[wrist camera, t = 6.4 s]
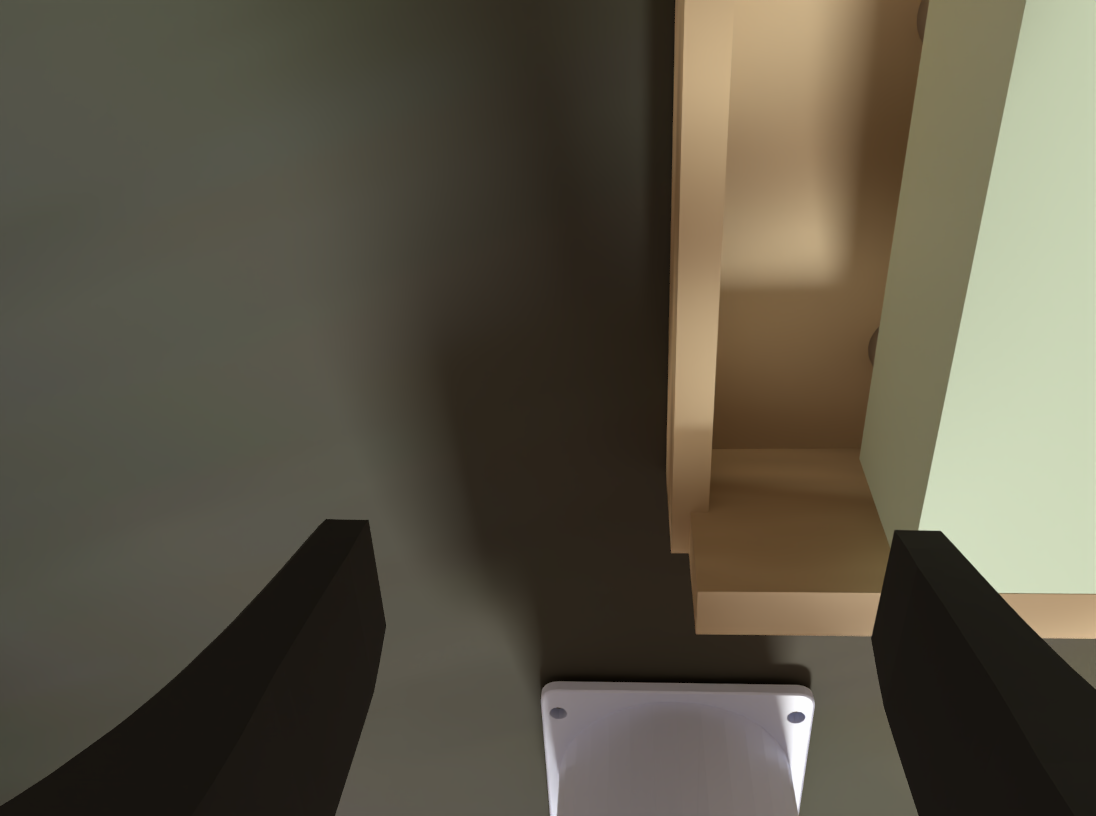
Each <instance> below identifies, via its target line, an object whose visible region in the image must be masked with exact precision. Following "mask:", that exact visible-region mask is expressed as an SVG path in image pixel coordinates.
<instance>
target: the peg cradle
mask: <svg viewBox="0 0 1096 816" xmlns="http://www.w3.org/2000/svg"><path fill="white" fill-rule="evenodd" d="M928 6H929V0H675V48H674V99H673V150H672V201H671V252H670V304H669V355H668V406H667V457H666V479H667V495H668V511H669V526H670V542H671V553H689V561H690V573H691V584H692V596H693V608H694V619H695V631H696V634H719V635H811V636H872V632H873V628H874V623H875V618H876V614H877V609H878V604H879V600H880V595H881V590H882V586H883V581H884V576H885V572H886V567H887V562H888V558H889V553H890V546H889V543H888V540H887V537H886V534H885V531H884V529H883V526H882V523H881V520H880V517H879V514H878V511H877V508H876V505H875V503H874V500H873V497H872V494H871V491H870V488H869V485H868V482H867V479H866V477H865V474H864V471H863V468H862V465H861V462H860V459H859V457H860V450H861V444H862V437H863V431H864V424H865V418H866V411H867V405H868V398H869V392H870V385H871V379H872V372H873V365H874V359H875V352H876V346H877V339H878V333H879V326H880V320H881V313H882V307H883V300H884V294H885V287H886V281H887V274H888V267H889V261H890V254H891V248H892V241H893V235H894V228H895V222H896V215H897V209H898V202H899V196H900V189H901V183H902V176H903V170H904V163H905V156H906V150H907V143H908V137H909V130H910V124H911V117H912V111H913V104H914V98H915V91H916V85H917V78H918V72H919V65H920V58H921V52H922V45H923V39H924V32H925V26H926V19H927V13H928ZM999 594H1000V595H1001V596H1002V598H1003V599H1004V600H1005V601H1006V602H1007V603H1008V604H1009V605H1010V606H1011V607H1012V608H1013V609H1014V610H1015V611H1016V612H1017V613H1018V615H1019V616H1020V617H1021V618H1022V619H1023V620H1024V621H1025V622H1026V623H1027V624H1028V625H1029V626H1030V627H1031V628H1032V629H1033V630H1034V631H1035V632H1036V633H1037V634H1038V635H1039V636H1040V637H1041V638H1088V639H1096V594H1062V593H999Z"/></svg>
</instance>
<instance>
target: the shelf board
mask: <svg viewBox="0 0 1096 816" xmlns="http://www.w3.org/2000/svg"><path fill="white" fill-rule="evenodd" d="M859 459H860V462H861V465H862V468H863V471H864V474H865V477H866V479H867V482H868V485H869V488H870V491H871V494H872V497H873V500H874V503H875V505H876V508H877V511H878V514H879V517H880V520H881V523H882V526H883V529H884V531H885V534H886V537H887V540H888V543H889V546H890V548H891V544H892V539H893V534H894V530H927V531H942V532H943V534H944V535H945V536H946V537H947V538H948V539H949V540H950V541H951V542H952V543H953V544H954V545H955V546H956V547H957V549H958V550H959V551H960V552H961V553H962V554H963V555H964V556H965V557H966V558H967V559H968V561H969V562H970V563H971V564H972V565H973V566H974V567H975V568H976V569H977V570H978V572H979V573H980V574H981V575H982V576H983V577H984V578H985V579H986V580H987V581H988V582H989V584H990V585H991V586H992V587H993V588H994V589H995V590H996V591H997V592H998V593H1062V594H1096V0H929V6H928V13H927V19H926V26H925V32H924V39H923V45H922V52H921V58H920V65H919V72H918V78H917V85H916V91H915V98H914V104H913V111H912V117H911V124H910V130H909V137H908V143H907V150H906V156H905V163H904V170H903V176H902V183H901V189H900V196H899V202H898V209H897V215H896V222H895V228H894V235H893V241H892V248H891V254H890V261H889V267H888V274H887V281H886V287H885V294H884V300H883V307H882V313H881V320H880V326H879V333H878V339H877V346H876V352H875V359H874V365H873V372H872V379H871V385H870V392H869V398H868V405H867V411H866V418H865V424H864V431H863V437H862V444H861V450H860V457H859Z"/></svg>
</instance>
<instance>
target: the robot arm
mask: <svg viewBox="0 0 1096 816" xmlns="http://www.w3.org/2000/svg"><path fill="white" fill-rule="evenodd" d="M385 629H386V622H385V616H384V610H383V604H382V598H381V592H380V586H379V580H378V574H377V568H376V562H375V556H374V550H373V544H372V538H371V532H370V526H369V520H334V519H326V520H325V521H324V522H323V523H322V524H320V525H319V526H318V528H317V529H316V530H315V531H314V532H313V533H312V534H311V535H310V537H309V538H308V539H307V540H306V541H305V542H304V544H303V545H302V546H301V547H300V548H299V549H298V550H297V552H296V553H295V554H294V555H293V556H292V557H291V558H290V560H289V561H288V562H287V563H286V564H285V565H284V566H283V568H282V569H281V570H280V571H279V572H278V573H277V574H276V575H275V576H274V578H273V579H272V580H271V581H270V582H269V583H268V584H267V585H266V587H265V588H264V589H263V590H262V591H261V592H260V593H259V594H258V595H257V596H256V597H255V598H254V599H253V600H252V601H251V603H250V604H249V605H248V606H247V607H246V608H245V609H244V610H243V611H242V612H241V613H240V614H239V615H238V616H237V617H236V619H235V620H234V621H233V622H232V623H231V624H230V625H229V626H228V627H227V628H226V629H225V630H224V631H223V632H222V633H221V634H220V635H219V636H218V637H217V638H216V639H215V640H214V641H213V642H212V643H211V644H209V645H208V646H207V647H206V648H205V649H204V650H203V651H202V652H201V653H200V654H199V655H198V656H197V657H196V658H195V659H194V660H193V661H192V662H191V663H190V664H189V665H188V666H187V667H186V668H185V669H184V670H182V671H181V672H180V673H179V674H178V675H177V676H176V677H175V678H174V679H173V680H171V681H170V682H169V683H168V684H167V685H166V686H165V687H164V688H162V689H161V690H160V691H159V692H158V693H157V694H155V695H154V696H153V697H152V698H151V699H150V700H148V701H147V702H146V703H145V704H144V705H142V706H141V707H140V708H139V709H138V710H136V711H135V712H134V713H133V714H132V715H130V716H129V717H128V718H127V719H125V720H124V721H123V722H122V723H120V724H119V725H118V726H116V727H115V728H114V729H113V730H111V731H110V732H108V733H107V734H106V735H104V736H103V737H101V738H100V739H99V740H97V741H96V742H94V743H93V744H92V745H90V746H89V747H88V748H86V749H85V750H83V751H82V752H81V753H79V754H78V755H76V756H75V757H74V758H72V759H71V760H69V761H68V762H67V763H65V764H64V765H63V766H61V767H60V768H58V769H57V770H56V771H54V772H53V773H51V774H50V775H48V776H47V777H45V778H44V779H42V780H41V781H39V782H38V783H36V784H35V785H33V786H32V787H30V788H28V789H27V790H25V791H24V792H22V793H21V794H19V795H18V796H16V797H14V798H13V799H11V800H10V801H8V802H6V803H5V804H3V805H2V806H0V816H335V813H336V810H337V807H338V804H339V801H340V798H341V795H342V791H343V788H344V785H345V782H346V779H347V776H348V773H349V770H350V766H351V763H352V760H353V757H354V754H355V751H356V748H357V745H358V741H359V738H360V735H361V732H362V729H363V725H364V722H365V719H366V716H367V713H368V709H369V706H370V703H371V700H372V696H373V693H374V688H375V683H376V678H377V673H378V668H379V663H380V657H381V651H382V646H383V640H384V634H385ZM871 640H872V645H873V651H874V657H875V663H876V668H877V674H878V679H879V684H880V689H881V694H882V699H883V704H884V709H885V712H886V715H887V719H888V722H889V725H890V728H891V731H892V735H893V738H894V741H895V744H896V747H897V750H898V753H899V757H900V760H901V763H902V766H903V769H904V772H905V775H906V778H907V781H908V784H909V787H910V790H911V794H912V797H913V800H914V803H915V806H916V809H917V812H918V815H919V816H1096V689H1094V688H1093V687H1092V686H1091V685H1090V684H1089V683H1088V682H1087V681H1086V680H1085V679H1083V678H1082V677H1081V676H1080V675H1079V674H1078V673H1077V672H1076V671H1075V670H1074V669H1072V668H1071V667H1070V666H1069V665H1068V664H1067V663H1066V662H1065V661H1064V660H1063V659H1062V658H1061V657H1060V656H1059V655H1058V654H1057V653H1056V652H1055V651H1054V650H1053V649H1052V648H1051V647H1050V646H1049V645H1048V644H1047V643H1046V642H1045V641H1044V640H1043V639H1042V638H1041V637H1040V636H1039V635H1038V634H1037V633H1036V632H1035V631H1034V630H1033V629H1032V628H1031V627H1030V626H1029V625H1028V624H1027V623H1026V622H1025V621H1024V620H1023V619H1022V618H1021V617H1020V616H1019V615H1018V613H1017V612H1016V611H1015V610H1014V609H1013V608H1012V607H1011V606H1010V605H1009V604H1008V603H1007V602H1006V601H1005V600H1004V599H1003V598H1002V596H1001V595H1000V594H999V593H998V592H997V591H996V590H995V589H994V588H993V587H992V586H991V585H990V584H989V582H988V581H987V580H986V579H985V578H984V577H983V576H982V575H981V574H980V573H979V572H978V570H977V569H976V568H975V567H974V566H973V565H972V564H971V563H970V562H969V561H968V559H967V558H966V557H965V556H964V555H963V554H962V553H961V552H960V551H959V550H958V549H957V547H956V546H955V545H954V544H953V543H952V542H951V541H950V540H949V539H948V538H947V537H946V536H945V535H944V534H943V532H942V531H927V530H894V534H893V539H892V544H891V548H890V553H889V558H888V562H887V567H886V572H885V576H884V581H883V586H882V590H881V595H880V600H879V604H878V609H877V614H876V618H875V623H874V628H873V632H872V637H871ZM557 707H559V708H560V709H559V708H557ZM814 707H815V703H814V698H813V693H812V691H811V690H810V689H809V688H807V687H805V686H801V685H776V684H709V683H641V682H574V681H556V682H550V683H548V684H546V685H545V686H544V687H543V688H542V693H541V708H542V721H543V733H544V745H545V758H546V770H547V782H548V795H549V807H550V816H799V809H800V802H801V795H802V789H803V782H804V775H805V768H806V761H807V755H808V748H809V741H810V734H811V728H812V721H813V714H814ZM796 711H797V712H796ZM792 712H794V713H792Z"/></svg>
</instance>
